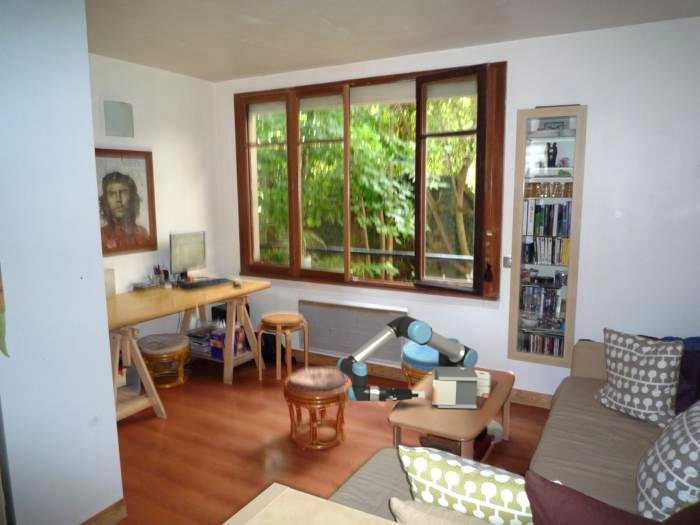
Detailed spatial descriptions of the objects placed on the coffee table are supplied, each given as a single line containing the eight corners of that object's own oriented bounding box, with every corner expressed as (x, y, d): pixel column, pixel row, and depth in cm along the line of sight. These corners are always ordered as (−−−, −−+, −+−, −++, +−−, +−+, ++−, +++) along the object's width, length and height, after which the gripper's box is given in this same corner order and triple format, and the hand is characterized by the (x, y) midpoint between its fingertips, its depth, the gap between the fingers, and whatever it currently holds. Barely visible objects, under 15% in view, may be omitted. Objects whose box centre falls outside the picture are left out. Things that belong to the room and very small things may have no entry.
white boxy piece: (431, 403, 262) (432, 379, 260) (455, 404, 262) (456, 380, 260) (433, 408, 257) (434, 383, 255) (457, 408, 256) (458, 384, 254)
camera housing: (433, 398, 275) (435, 364, 272) (470, 398, 274) (472, 365, 271) (437, 409, 261) (439, 374, 258) (476, 410, 260) (478, 374, 258)
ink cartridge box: (490, 395, 279) (491, 369, 277) (488, 398, 275) (489, 372, 273) (474, 392, 283) (476, 367, 281) (472, 395, 279) (473, 370, 277)
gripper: (377, 395, 265) (422, 396, 265) (378, 406, 252) (426, 406, 252) (378, 381, 264) (423, 382, 263) (379, 391, 251) (426, 392, 251)
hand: (424, 394), depth 258 cm, fingers closed
